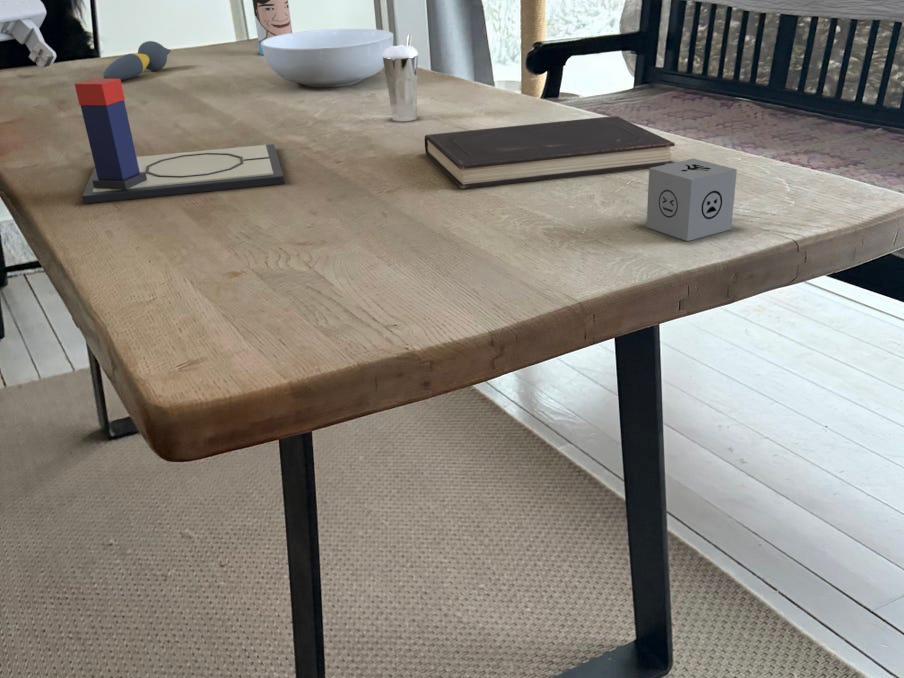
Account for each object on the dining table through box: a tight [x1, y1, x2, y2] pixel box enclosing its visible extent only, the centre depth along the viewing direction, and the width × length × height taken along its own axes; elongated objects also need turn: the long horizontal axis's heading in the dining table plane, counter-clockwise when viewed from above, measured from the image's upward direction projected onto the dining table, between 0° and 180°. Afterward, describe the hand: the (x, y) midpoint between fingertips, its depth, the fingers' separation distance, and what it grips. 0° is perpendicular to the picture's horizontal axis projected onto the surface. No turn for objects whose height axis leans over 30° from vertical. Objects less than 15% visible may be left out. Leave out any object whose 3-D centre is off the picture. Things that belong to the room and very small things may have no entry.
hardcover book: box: [424, 115, 676, 190], centre depth 103 cm, size 16×23×2 cm
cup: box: [252, 0, 293, 56], centre depth 184 cm, size 7×7×15 cm
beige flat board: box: [81, 143, 285, 205], centre depth 104 cm, size 20×16×1 cm
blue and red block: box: [74, 78, 147, 189], centre depth 95 cm, size 4×4×10 cm
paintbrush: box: [102, 40, 172, 82], centre depth 168 cm, size 20×5×5 cm, turn 170°
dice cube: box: [645, 158, 738, 242], centre depth 80 cm, size 5×5×5 cm
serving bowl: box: [261, 28, 394, 88], centre depth 152 cm, size 21×21×7 cm
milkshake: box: [382, 33, 419, 122], centre depth 124 cm, size 5×5×10 cm
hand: (21, 68), depth 95 cm, fingers open, 8 cm apart
